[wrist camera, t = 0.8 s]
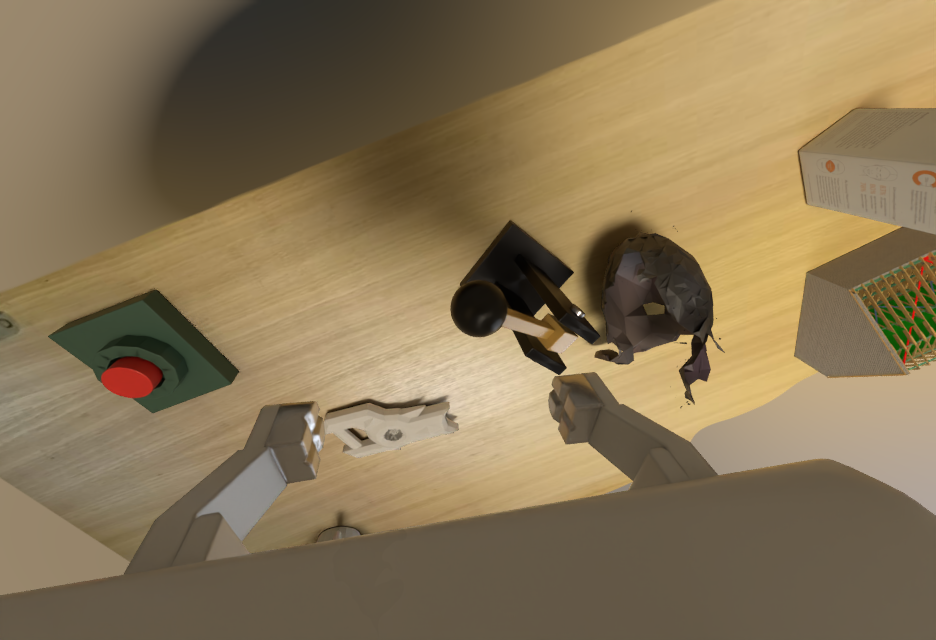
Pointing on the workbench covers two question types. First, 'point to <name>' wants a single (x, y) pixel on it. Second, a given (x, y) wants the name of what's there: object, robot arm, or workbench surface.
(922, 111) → the small box
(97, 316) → the button box
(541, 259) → the black lever stand
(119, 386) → the button
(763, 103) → the workbench surface
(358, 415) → the beige holed clip
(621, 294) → the crumpled paper
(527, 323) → the lever
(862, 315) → the grey sloped slatted box
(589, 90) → the workbench surface
